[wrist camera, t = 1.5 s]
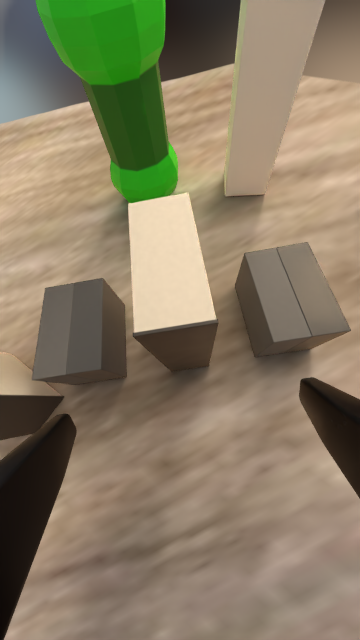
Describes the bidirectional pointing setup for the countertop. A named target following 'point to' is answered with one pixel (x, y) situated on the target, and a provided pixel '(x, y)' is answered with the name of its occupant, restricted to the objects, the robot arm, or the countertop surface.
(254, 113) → the milk
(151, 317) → the cream rectangular block
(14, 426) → the white books
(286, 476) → the countertop surface
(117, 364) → the grey books
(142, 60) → the plastic bottle
